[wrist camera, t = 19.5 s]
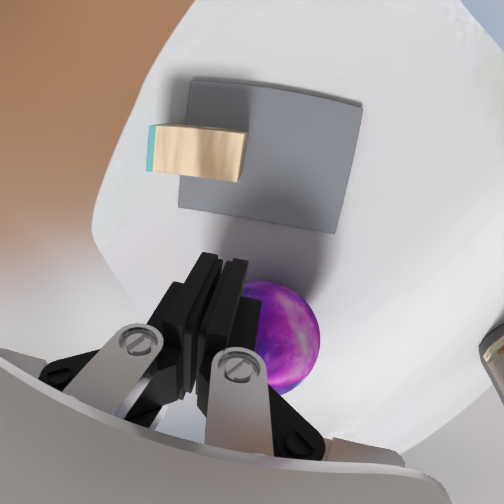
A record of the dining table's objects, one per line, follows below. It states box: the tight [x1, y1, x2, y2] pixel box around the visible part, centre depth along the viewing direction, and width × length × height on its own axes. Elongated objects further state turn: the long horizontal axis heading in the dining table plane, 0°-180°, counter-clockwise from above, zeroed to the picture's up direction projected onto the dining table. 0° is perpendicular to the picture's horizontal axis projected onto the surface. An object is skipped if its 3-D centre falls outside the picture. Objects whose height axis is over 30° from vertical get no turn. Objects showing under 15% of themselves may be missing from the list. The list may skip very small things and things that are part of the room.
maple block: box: [146, 124, 249, 182], centre depth 30 cm, size 5×5×10 cm
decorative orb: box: [243, 281, 320, 395], centre depth 36 cm, size 15×15×15 cm
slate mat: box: [178, 80, 363, 234], centre depth 33 cm, size 20×16×1 cm
